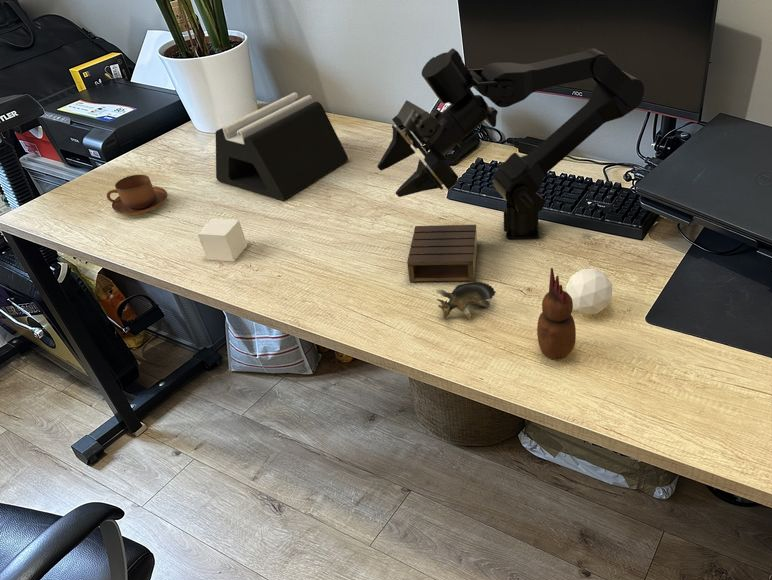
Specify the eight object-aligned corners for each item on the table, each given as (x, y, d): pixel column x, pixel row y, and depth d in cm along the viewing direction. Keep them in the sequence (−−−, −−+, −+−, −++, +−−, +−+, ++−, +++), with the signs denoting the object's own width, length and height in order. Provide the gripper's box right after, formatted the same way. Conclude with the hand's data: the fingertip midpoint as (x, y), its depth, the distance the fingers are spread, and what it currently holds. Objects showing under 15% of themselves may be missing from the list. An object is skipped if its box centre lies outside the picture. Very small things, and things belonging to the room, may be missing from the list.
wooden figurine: (534, 339, 107) (535, 263, 97) (568, 336, 107) (573, 259, 97) (541, 367, 102) (542, 290, 92) (577, 364, 102) (583, 286, 92)
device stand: (348, 161, 162) (337, 101, 152) (284, 201, 148) (267, 138, 138) (283, 145, 171) (268, 87, 162) (217, 181, 158) (197, 120, 148)
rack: (477, 243, 130) (476, 224, 127) (474, 281, 120) (472, 261, 117) (417, 244, 131) (415, 225, 128) (409, 282, 121) (406, 262, 118)
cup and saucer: (126, 225, 144) (114, 200, 140) (107, 207, 151) (96, 182, 147) (178, 205, 149) (168, 181, 145) (158, 189, 156) (148, 164, 152)
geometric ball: (575, 317, 115) (561, 274, 114) (620, 303, 113) (605, 259, 112) (571, 324, 108) (556, 278, 107) (619, 309, 105) (603, 262, 105)
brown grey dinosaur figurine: (458, 330, 108) (503, 304, 110) (438, 292, 106) (484, 266, 108) (445, 327, 115) (488, 303, 117) (426, 292, 114) (469, 267, 116)
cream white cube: (221, 243, 136) (212, 218, 132) (247, 245, 135) (239, 219, 131) (206, 259, 131) (197, 233, 127) (233, 261, 130) (224, 235, 126)
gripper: (410, 66, 113) (343, 126, 115) (455, 114, 101) (379, 180, 103) (443, 111, 121) (379, 166, 123) (487, 160, 110) (416, 220, 112)
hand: (387, 181), depth 115 cm, fingers open, 9 cm apart
